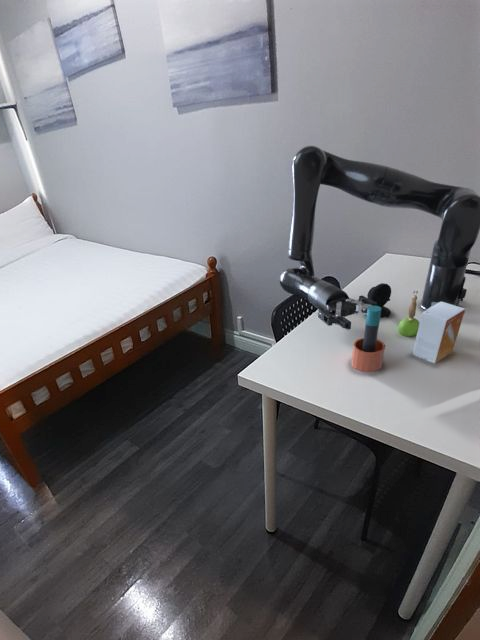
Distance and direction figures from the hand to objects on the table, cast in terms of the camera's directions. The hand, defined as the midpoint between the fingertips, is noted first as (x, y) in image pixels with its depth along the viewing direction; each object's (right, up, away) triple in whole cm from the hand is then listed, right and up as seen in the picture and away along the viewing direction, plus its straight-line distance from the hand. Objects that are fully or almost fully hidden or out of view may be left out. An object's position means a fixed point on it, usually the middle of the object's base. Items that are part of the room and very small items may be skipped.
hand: (364, 321), depth 101 cm
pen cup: (+3, -11, +5) cm, 12 cm away
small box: (+20, -8, +5) cm, 22 cm away
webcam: (+15, +6, +25) cm, 30 cm away
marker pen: (+2, -10, +5) cm, 12 cm away
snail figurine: (+18, -2, +14) cm, 23 cm away
